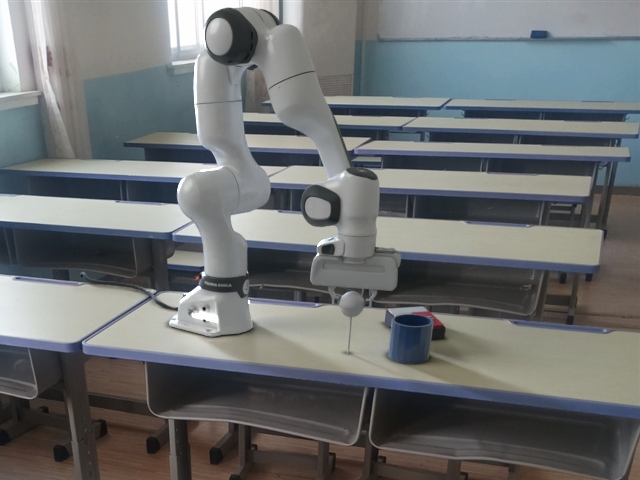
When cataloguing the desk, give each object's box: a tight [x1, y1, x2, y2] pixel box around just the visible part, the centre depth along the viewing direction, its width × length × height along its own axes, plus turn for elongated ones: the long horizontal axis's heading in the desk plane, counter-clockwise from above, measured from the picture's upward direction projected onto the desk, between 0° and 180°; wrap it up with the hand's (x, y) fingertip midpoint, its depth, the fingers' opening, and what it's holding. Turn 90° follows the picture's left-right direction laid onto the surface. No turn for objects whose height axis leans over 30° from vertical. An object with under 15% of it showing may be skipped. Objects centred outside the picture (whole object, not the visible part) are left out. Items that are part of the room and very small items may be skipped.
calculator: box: [384, 306, 447, 340], centre depth 209 cm, size 11×4×15 cm
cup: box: [388, 314, 434, 365], centre depth 192 cm, size 10×10×9 cm
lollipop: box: [338, 291, 365, 354], centre depth 192 cm, size 6×6×15 cm
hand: (351, 305), depth 190 cm, fingers open, 6 cm apart
